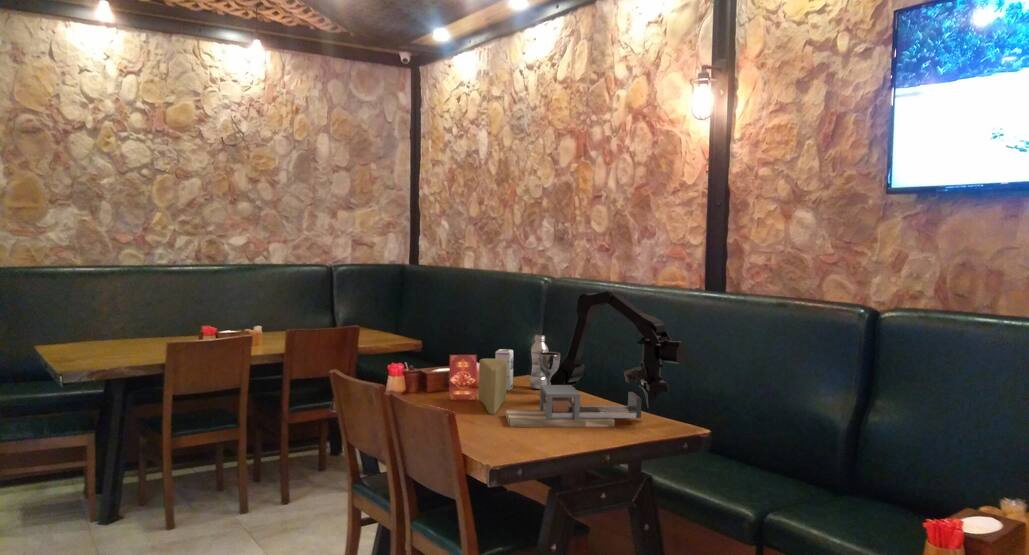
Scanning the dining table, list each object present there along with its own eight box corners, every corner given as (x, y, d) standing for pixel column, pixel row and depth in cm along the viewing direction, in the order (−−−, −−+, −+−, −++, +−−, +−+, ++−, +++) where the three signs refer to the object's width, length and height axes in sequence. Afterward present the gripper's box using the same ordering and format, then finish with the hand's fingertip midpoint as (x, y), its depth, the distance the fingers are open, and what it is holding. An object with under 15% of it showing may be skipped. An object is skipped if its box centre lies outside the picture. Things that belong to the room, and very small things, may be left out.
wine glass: (559, 397, 283) (560, 355, 282) (537, 396, 283) (538, 354, 282) (558, 392, 291) (559, 351, 290) (536, 391, 291) (538, 351, 290)
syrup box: (510, 390, 292) (511, 351, 291) (494, 389, 293) (495, 350, 292) (513, 387, 298) (514, 349, 297) (497, 386, 299) (498, 348, 298)
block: (549, 413, 249) (550, 397, 249) (565, 413, 250) (565, 397, 250) (552, 416, 244) (552, 400, 244) (568, 416, 245) (568, 400, 245)
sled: (542, 410, 251) (542, 391, 251) (632, 410, 255) (632, 392, 255) (547, 418, 242) (547, 398, 241) (640, 417, 245) (641, 398, 245)
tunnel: (539, 409, 253) (540, 384, 253) (570, 409, 255) (571, 385, 254) (546, 420, 240) (547, 394, 239) (579, 420, 241) (580, 394, 240)
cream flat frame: (505, 416, 252) (505, 409, 252) (604, 415, 256) (604, 409, 256) (510, 427, 238) (510, 420, 238) (614, 426, 242) (614, 420, 242)
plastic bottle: (537, 386, 302) (539, 334, 300) (550, 389, 297) (552, 336, 296) (525, 388, 297) (527, 335, 296) (539, 391, 292) (540, 337, 291)
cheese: (507, 415, 253) (508, 369, 253) (477, 414, 253) (478, 368, 252) (506, 400, 276) (507, 357, 275) (478, 400, 275) (479, 357, 274)
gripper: (619, 354, 258) (617, 402, 259) (634, 364, 239) (632, 415, 240) (652, 354, 259) (650, 402, 260) (670, 364, 241) (668, 415, 242)
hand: (649, 408), depth 250 cm, fingers closed
